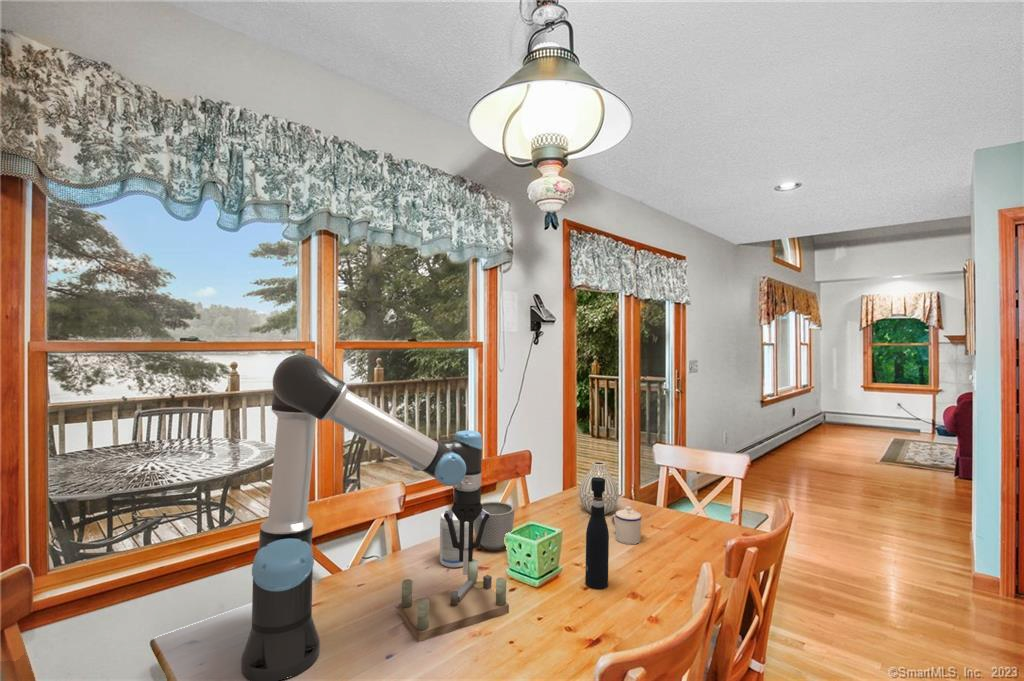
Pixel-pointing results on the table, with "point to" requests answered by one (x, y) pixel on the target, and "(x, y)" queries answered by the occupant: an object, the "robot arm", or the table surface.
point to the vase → (608, 495)
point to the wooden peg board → (452, 608)
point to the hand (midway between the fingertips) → (465, 572)
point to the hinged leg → (469, 578)
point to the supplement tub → (447, 552)
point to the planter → (495, 524)
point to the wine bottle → (597, 540)
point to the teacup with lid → (627, 526)
